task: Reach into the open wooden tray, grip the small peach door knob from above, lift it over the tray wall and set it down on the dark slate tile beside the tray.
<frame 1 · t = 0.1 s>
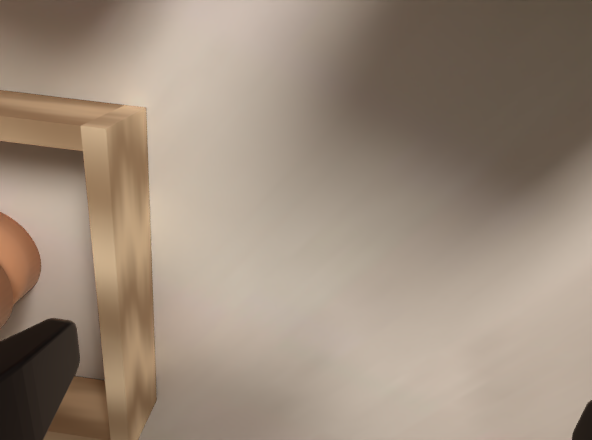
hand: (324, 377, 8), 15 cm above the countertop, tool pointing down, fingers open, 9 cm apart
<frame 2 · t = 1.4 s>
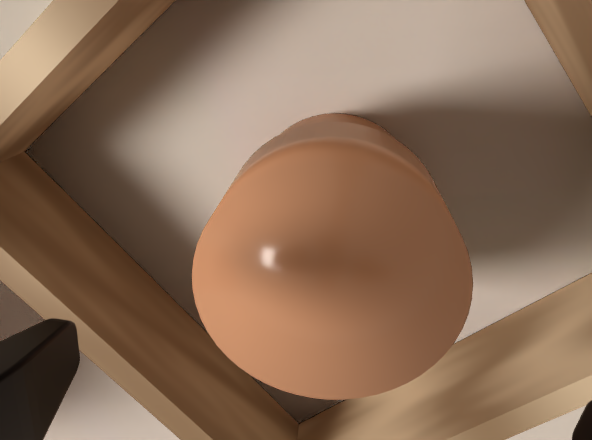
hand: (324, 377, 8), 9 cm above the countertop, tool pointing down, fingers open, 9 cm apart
open wooden tray: (334, 193, 17), on the countertop
peach door knob: (331, 232, 14), in the open wooden tray
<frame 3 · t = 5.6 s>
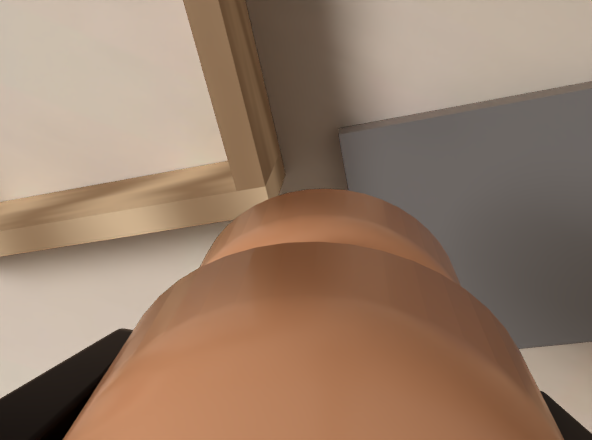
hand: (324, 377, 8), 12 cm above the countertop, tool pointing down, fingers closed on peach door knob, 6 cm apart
slate tile: (491, 231, 20), on the countertop
peach door knob: (317, 435, 7), point 13 cm above the countertop, touching gripper
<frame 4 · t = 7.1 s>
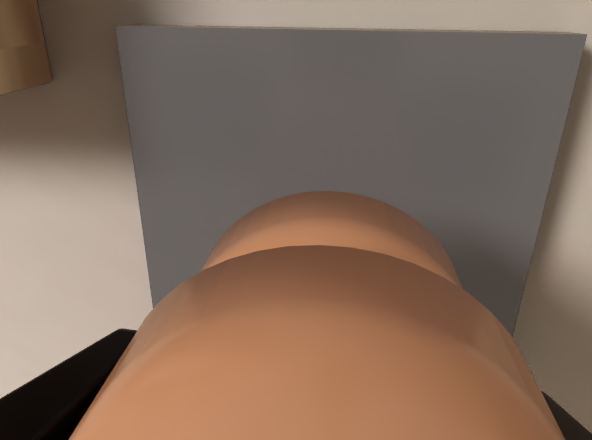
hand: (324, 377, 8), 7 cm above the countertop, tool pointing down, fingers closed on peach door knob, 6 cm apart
slate tile: (332, 224, 14), on the countertop
peach door knob: (319, 438, 7), point 8 cm above the countertop, touching gripper
when the fingers open (4 cm above the countertop, at t = 8.4 s): peach door knob drops 1 cm, resting on slate tile.
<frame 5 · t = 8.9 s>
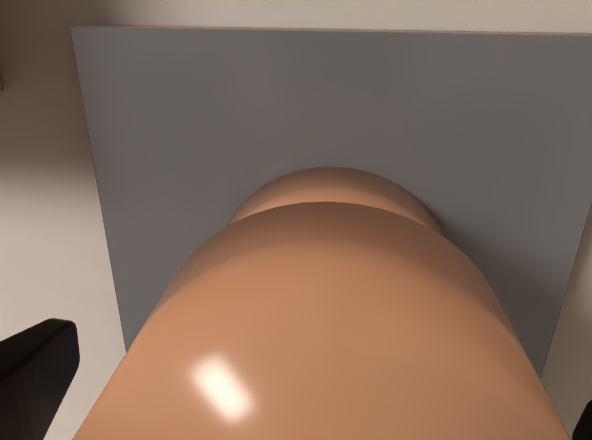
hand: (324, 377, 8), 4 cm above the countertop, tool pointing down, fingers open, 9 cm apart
slate tile: (330, 255, 12), on the countertop
peach door knob: (326, 371, 9), on the slate tile, point 4 cm above the countertop
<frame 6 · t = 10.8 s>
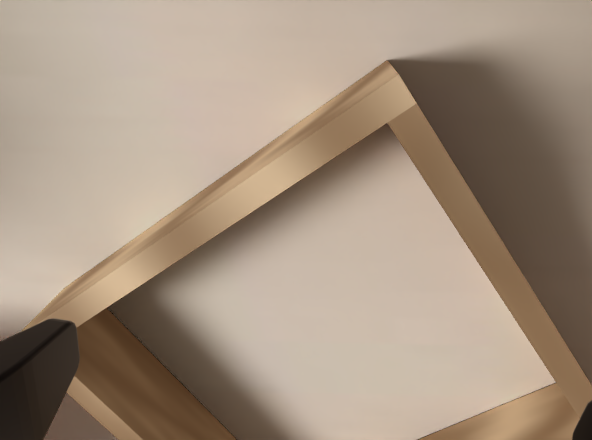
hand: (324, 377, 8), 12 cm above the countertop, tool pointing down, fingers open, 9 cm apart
open wooden tray: (324, 337, 23), on the countertop
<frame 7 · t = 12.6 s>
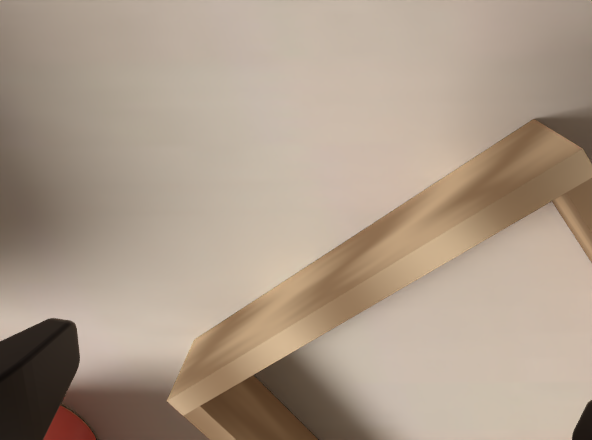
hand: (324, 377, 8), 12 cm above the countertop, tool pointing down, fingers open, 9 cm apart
open wooden tray: (450, 377, 23), on the countertop
flower pot: (40, 438, 28), on the countertop
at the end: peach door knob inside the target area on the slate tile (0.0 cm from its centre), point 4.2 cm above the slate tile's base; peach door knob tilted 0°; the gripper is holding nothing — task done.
